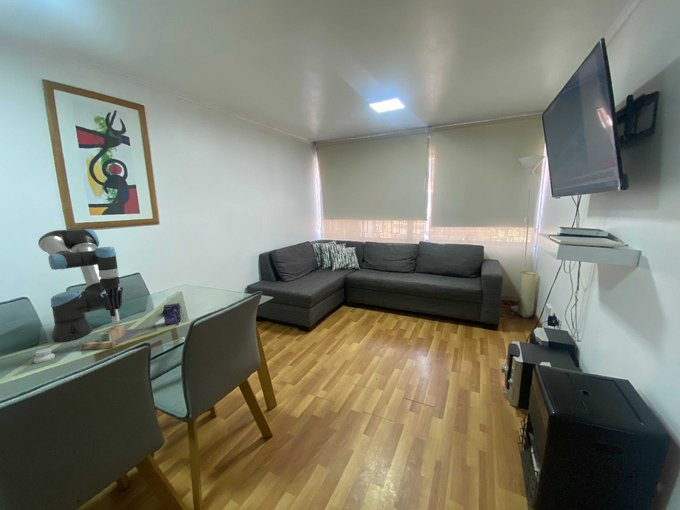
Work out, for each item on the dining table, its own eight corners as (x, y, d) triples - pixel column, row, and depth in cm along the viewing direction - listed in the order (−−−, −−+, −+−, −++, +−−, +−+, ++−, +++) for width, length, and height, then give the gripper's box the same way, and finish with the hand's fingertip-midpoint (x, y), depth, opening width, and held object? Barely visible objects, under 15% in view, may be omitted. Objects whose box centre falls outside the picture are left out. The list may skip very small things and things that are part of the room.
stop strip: (82, 349, 127) (81, 344, 127) (85, 347, 129) (84, 342, 129) (112, 347, 128) (112, 342, 127) (115, 345, 130) (115, 340, 129)
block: (116, 334, 142) (99, 343, 131) (115, 325, 142) (98, 334, 131) (126, 333, 143) (110, 343, 132) (124, 324, 142) (108, 333, 131)
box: (165, 325, 154) (162, 307, 152) (165, 322, 159) (163, 304, 157) (181, 322, 158) (179, 305, 156) (181, 319, 162) (179, 302, 161)
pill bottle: (60, 372, 121) (57, 348, 120) (41, 380, 115) (36, 355, 114) (53, 370, 124) (49, 346, 122) (33, 377, 118) (28, 352, 116)
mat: (87, 346, 130) (87, 345, 130) (116, 330, 148) (115, 330, 148) (117, 344, 131) (117, 344, 131) (142, 329, 149) (142, 328, 148)
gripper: (106, 279, 130) (113, 326, 133) (126, 274, 142) (132, 316, 146) (90, 280, 129) (97, 326, 132) (111, 274, 142) (117, 317, 145)
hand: (115, 321), depth 139 cm, fingers closed
